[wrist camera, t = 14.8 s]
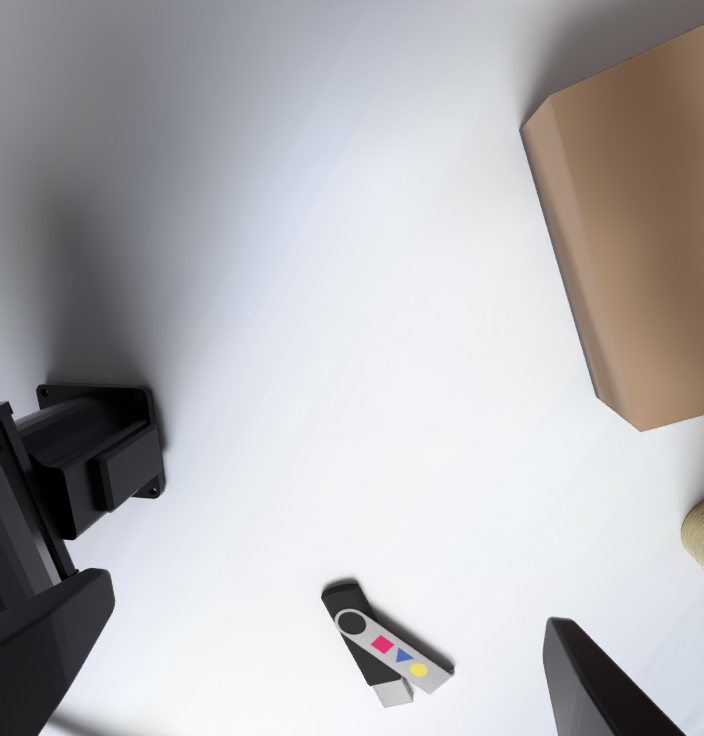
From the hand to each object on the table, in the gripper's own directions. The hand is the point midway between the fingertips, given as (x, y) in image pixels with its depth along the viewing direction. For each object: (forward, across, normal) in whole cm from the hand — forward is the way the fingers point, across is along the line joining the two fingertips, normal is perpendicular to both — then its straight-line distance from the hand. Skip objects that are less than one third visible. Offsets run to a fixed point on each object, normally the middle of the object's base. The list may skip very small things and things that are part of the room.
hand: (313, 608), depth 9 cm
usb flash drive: (+14, -1, +15) cm, 20 cm away
